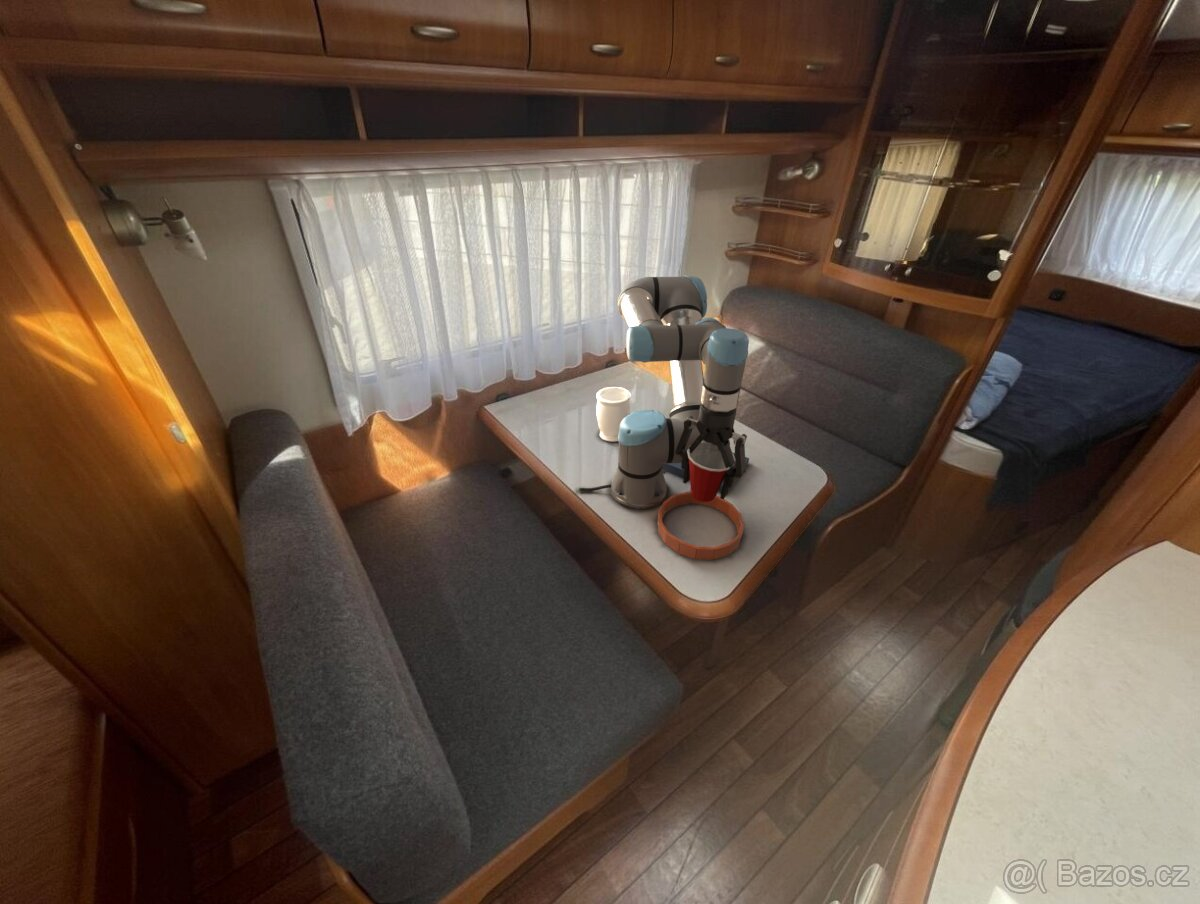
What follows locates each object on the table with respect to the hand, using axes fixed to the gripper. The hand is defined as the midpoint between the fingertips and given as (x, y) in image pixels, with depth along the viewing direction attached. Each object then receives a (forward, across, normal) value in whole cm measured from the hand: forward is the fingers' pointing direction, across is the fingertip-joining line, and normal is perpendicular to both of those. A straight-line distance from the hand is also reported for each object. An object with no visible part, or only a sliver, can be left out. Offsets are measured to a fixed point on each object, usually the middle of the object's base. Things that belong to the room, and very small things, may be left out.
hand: (705, 487), depth 113 cm
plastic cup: (+2, 0, 0) cm, 2 cm away
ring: (+13, 0, 0) cm, 13 cm away
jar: (+13, -42, +22) cm, 49 cm away
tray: (+13, -11, +24) cm, 30 cm away
